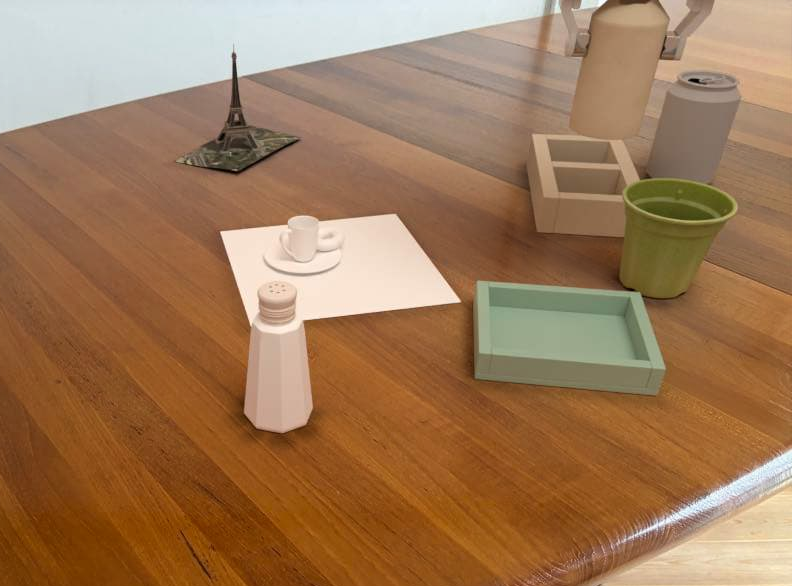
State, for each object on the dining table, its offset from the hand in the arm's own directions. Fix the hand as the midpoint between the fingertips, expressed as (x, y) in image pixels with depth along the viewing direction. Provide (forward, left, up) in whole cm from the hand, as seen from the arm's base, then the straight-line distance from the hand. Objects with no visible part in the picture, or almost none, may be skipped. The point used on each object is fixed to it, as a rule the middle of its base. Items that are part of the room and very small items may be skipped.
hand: (620, 56), depth 63 cm
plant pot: (-9, -4, -22) cm, 24 cm away
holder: (-4, -24, -22) cm, 32 cm away
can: (-16, -31, -22) cm, 41 cm away
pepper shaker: (+23, +21, -22) cm, 38 cm away
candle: (0, 0, -6) cm, 6 cm away
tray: (+1, +8, -22) cm, 23 cm away
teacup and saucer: (+22, -4, -22) cm, 31 cm away
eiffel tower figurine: (+38, -34, -22) cm, 55 cm away
